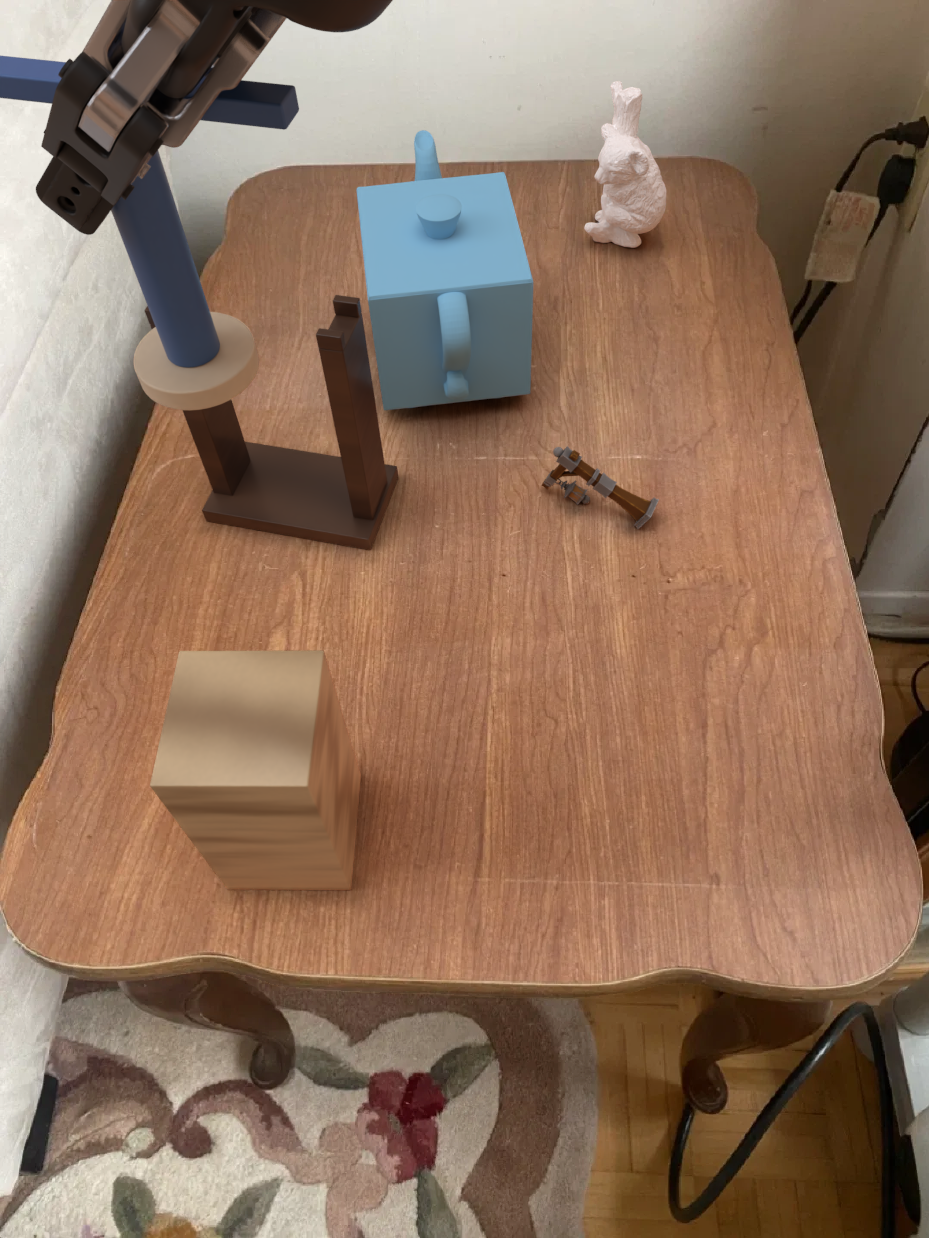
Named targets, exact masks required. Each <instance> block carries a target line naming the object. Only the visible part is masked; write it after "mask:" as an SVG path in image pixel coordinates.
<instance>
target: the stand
mask: <svg viewBox="0 0 929 1238" xmlns="http://www.w3.org/2000/svg"><path fill="white" fill-rule="evenodd" d="M332 304H333V311H334V317H333V318H332V321H331V323H330V325H329V327H328V328H320V327H319V328H318V329H317V331H316V333H315V338H316V343H317V347H318V353H319V358H320V362H321V367H322V372H323V377H324V381H325V386H326V391H327V397H328V403H329V406H330V411H331V415H332V421H333V425H334V430H335V434H336V440H337V445H338V451H339V454H340V456H338V455H331V454H325V453H318V452H313V451H306V450H301V449H300V450H299V449H294V448H288V447H282V446H275V445H270V444H263V443H259V442H258V443H257V442H251V441H246V440H245V438H244V437H245V436H244V434H243V432H242V428H241V426H240V422H239V419H238V415H237V413H236V409H235V406H234V403H233V399H231V400H229V401H227V402H225V403H223V404H220V405H217V406H214V407H210V408H206V409H200V410H181V411H182V413H183V415H184V418H185V421H186V424H187V427H188V429H189V432H190V435H191V437H192V439H193V442H194V444H195V445H194V446H195V447H196V450H197V452H198V455H199V458H200V461H201V463H202V466H203V469H204V471H205V473H206V476H207V480H208V481H209V485H210V488H211V491H210V494H209V496H208V498H207V500H206V501H205V503H204V505H203V506H202V509H201V511H202V515H203V517H204V519H205V521H206V522H209V523H210V522H211V523H216V524H221V525H227V526H232V527H237V528H244V529H249V530H256V531H262V532H267V533H273V534H278V535H284V536H288V537H295V538H300V539H306V540H311V541H315V542H322V543H328V544H334V545H340V546H345V547H350V548H356V549H360V550H361V549H362V550H367V551H371V550H372V548H373V545H374V542H375V540H376V538H377V535H378V532H379V530H380V527H381V524H382V522H383V519H384V516H385V514H386V511H387V508H388V506H389V503H390V501H391V498H392V495H393V493H394V490H395V487H396V485H397V483H398V480H399V471H398V470H399V469H398V466H397V465H394V464H393V465H392V464H387V463H385V457H384V456H385V455H384V450H383V444H382V438H381V437H382V436H381V430H380V424H379V417H378V412H377V405H376V398H375V391H374V385H373V378H372V371H371V364H370V359H369V358H370V357H369V352H368V346H367V345H368V343H367V338H366V331H365V326H364V325H365V324H364V319H363V312H362V305H361V299H360V297H355V296H349V295H339V294H335V295H334V297H333V299H332ZM144 314H145V316H146V319H147V321H148V324H149V327H150V330H152V329H153V328H155V327H156V326H155V324H154V321H153V319H152V316H151V313H150V311H149V308H148V306H147V305H146V307H145V309H144Z"/></svg>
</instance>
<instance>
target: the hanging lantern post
mask: <svg viewBox="0 0 929 1238" xmlns="http://www.w3.org/2000/svg"><path fill="white" fill-rule="evenodd" d="M552 454H553V456H554V457H556V458H557V459H556V460H555V463H558V465H557V466H556V467H555V468H554V469H552V470H551V471H550V472H549V473H548V475H547V476H546V477H545V479H544V480H543V482H542V484H541V486H542V487H543V488H545V489H546V490H549V489H550V488H551V487H553V486H554V485H555V484H557V485H558V486H560V491H562V490H563V491H564V495H563V498H564V499H566V498H567V497H568V498H569V499H571V500H572V501H573V502H575V504H576V505H577V506H578V505H579V504H580V503H582V504H585V505H587V504H589V503H590V501H591V497H590V496H589V495H588V494H587V492H588V490H589V489H588V488H583V487H581V486H580V485H577V480H576V479H575V480H574V481H572V482H571V483H570V482H568V480H565V481H563V480H562V479H561V478H563V477H579V478H581V479H583V480H584V481H585V482H586V483H585V485H586V486H588V487H590V486H592V490H593V491H596V492H597V493H599V494H600V495H602V496H603V498H604V499H607V498H609V499H610V500H611V501H613V502H614V503H616V504H617V505H618V506H619V507H621V509H623V510H624V511H625V512H627V514H629V515H630V516H631V517H632V518H633V519H634V520H635V523H634V525H633V526H634V527H635V528H636V529H637V530H639V529H640V528H642V527H643V526H644V525H645V524H646V523H647V522H648V521H649V520H650V519H651V518H652V516H653V514H654V512H655V510H656V507H657V505H658V503H659V500H660V499H659V498H656V497H655V496H653V497H652V498H651V500H648V499H645V498H643V497H640V496H638V495H637V494H634V493H633V492H630V491H628V490H626V489H625V488H622V487H621V486H620V485H618V484H617V483H618V481H616V480H613V479H612V478H611V477H610V476H608V475H607V474H606V473H605V472H603V473H601V469H599V468H598V467H597V468H596V469H595V468H594V467H592V466H591V465H590V464H589V463H587V462H585V461H584V460H582V458H583V456H581V454H580V452H578V451H577V450H575V449H573V450H572V449H571V448H570V447H569V445H567V446H565V448H564V449H563V448H562V447H561V446H556V447H555V448H554V449H553V451H552ZM558 481H559V482H558Z"/></svg>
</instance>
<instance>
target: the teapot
mask: <svg viewBox="0 0 929 1238" xmlns="http://www.w3.org/2000/svg"><path fill="white" fill-rule="evenodd" d="M413 147H414V161H415V162H414V163H415V164H414V165H415V169H414V170H415V171H414V180H412V181H403V182H395V183H394V182H393V183H385V184H376V185H367V186H357V187H356V199H357V200H356V201H357V208H358V210H357V211H358V218H359V227H360V237H361V238H360V239H361V245H362V246H361V247H362V248H361V249H362V257H363V258H362V259H363V266H364V276H365V285H366V286H365V287H366V294H367V304H368V311H369V318H370V325H371V332H372V339H373V346H374V353H375V359H376V367H377V374H378V380H379V387H380V388H379V389H380V394H381V402H382V409H383V411H393V410H400V409H414V408H418V407H427V406H436V405H437V406H438V405H445V404H446V405H447V404H453V403H454V404H455V403H463V402H471V401H472V402H473V401H479V400H487V399H488V400H489V399H501V398H505V397H506V398H507V397H517V396H524V395H525V396H526V395H531V385H532V384H531V383H532V350H533V349H532V348H533V345H532V344H533V317H534V315H533V314H534V313H533V312H534V278H533V274H532V272H531V271H532V270H531V268H530V263H529V260H528V255H527V252H526V249H525V248H526V247H525V245H524V244H525V243H524V241H523V237H522V233H521V229H520V226H519V221H518V217H517V214H516V210H515V206H514V202H513V198H512V195H511V190H510V187H509V184H508V180H507V176H506V173H505V172H504V171H499V172H493V173H483V174H482V173H481V174H472V175H462V176H451V177H443V175H442V171H441V166H440V163H439V159H438V154H437V148H436V147H437V146H436V142H435V139H434V137H433V135H432V134H431V132H430V131H428V130H425V129H421V130H419V131H417V132H416V134H415V136H414V140H413Z"/></svg>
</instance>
